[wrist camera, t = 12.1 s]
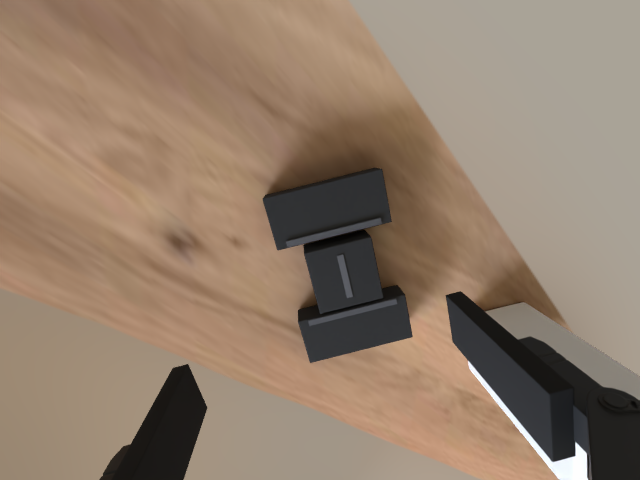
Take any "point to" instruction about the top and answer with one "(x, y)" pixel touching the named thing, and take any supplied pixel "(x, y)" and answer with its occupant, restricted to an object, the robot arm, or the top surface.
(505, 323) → the milk carton
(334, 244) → the loose pad
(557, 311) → the top surface
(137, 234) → the top surface
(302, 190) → the pad row
